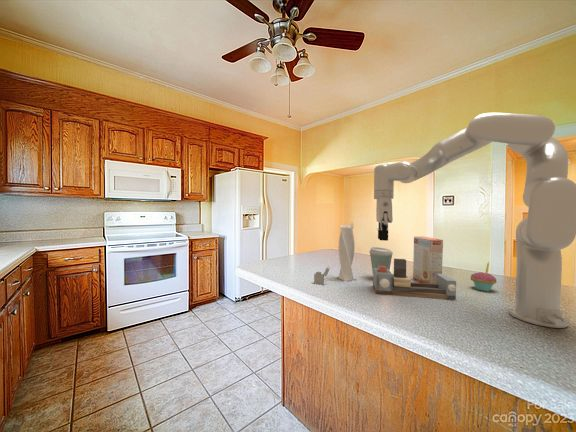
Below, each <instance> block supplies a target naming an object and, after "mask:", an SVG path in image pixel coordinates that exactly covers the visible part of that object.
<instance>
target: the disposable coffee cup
mask: <svg viewBox="0 0 576 432" xmlns="http://www.w3.org/2000/svg"><path fill="white" fill-rule="evenodd" d="M369 255H370V262H371V269H372V272H373V268H378V265H380V266H386V267H387V269H388V270H389V271H390V270H391V264H392V258H393V251H392V250H391V249H389V248H386V247H385V248H384V247H379V246H378V247H377V246H371V247H370V249H369ZM390 272H391V271H390Z"/></svg>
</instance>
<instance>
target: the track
mask: <svg viewBox="0 0 576 432" xmlns="http://www.w3.org/2000/svg"><path fill="white" fill-rule="evenodd" d="M372 287H373V289H374V292H375V294H376V295H385V296H386V295H388V296H399V297H412V298H413V297H415V298H426V299H427V298H428V299H440V300H452V299H453V297H454V300H453V301H456V300H457V295H456V296H453V297H452V296H451V295H448V299H447V295H446V290H444V289H438V284H429V283H421V282H411V287H397V286H393V291H383V290H376V288H375V286H374V285H373V284H372ZM376 291H377V293H376ZM378 292H379V294H378ZM387 292H388V293H389V294H388V293H387ZM380 293H381V294H380ZM382 293H383V294H382ZM386 293H387V294H386ZM390 293H392V295H390ZM449 296H450V298H449ZM451 297H452V299H451Z"/></svg>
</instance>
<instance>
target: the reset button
mask: <svg viewBox="0 0 576 432" xmlns="http://www.w3.org/2000/svg"><path fill="white" fill-rule="evenodd" d="M378 272H387V267H386V266H380V265H378Z"/></svg>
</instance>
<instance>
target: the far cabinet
mask: <svg viewBox="0 0 576 432" xmlns="http://www.w3.org/2000/svg"><path fill="white" fill-rule="evenodd" d="M393 274H394V273H392V272H391V271H389V270H388V269H387V272H378V268H373V271H372V286H373V285H374V286H375V288H376V290H383V291H393ZM376 293H377V291H376V292H375V294H376ZM387 293H388V292H387ZM387 293H386V294H387ZM386 294H385V295H386ZM388 294H389V293H388ZM377 295H384V294H383V293H382V294H381V293H380V294H379V292H378V294H377ZM389 296H393V295H392V293H390V295H389Z"/></svg>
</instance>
